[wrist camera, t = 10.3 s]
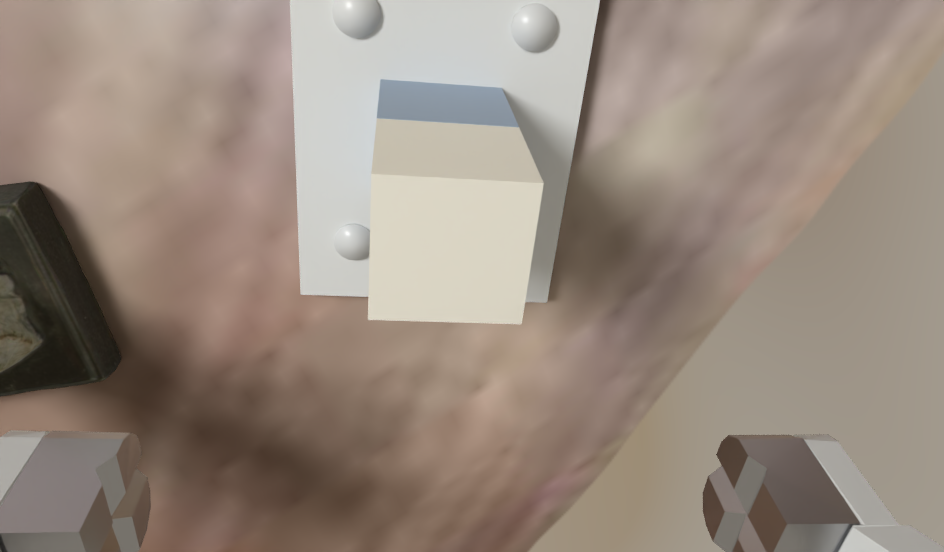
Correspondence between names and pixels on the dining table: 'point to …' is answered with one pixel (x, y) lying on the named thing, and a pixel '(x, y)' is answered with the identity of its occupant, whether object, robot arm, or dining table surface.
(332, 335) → the dining table surface
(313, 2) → the build plate
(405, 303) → the block
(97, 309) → the figurine
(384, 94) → the block
